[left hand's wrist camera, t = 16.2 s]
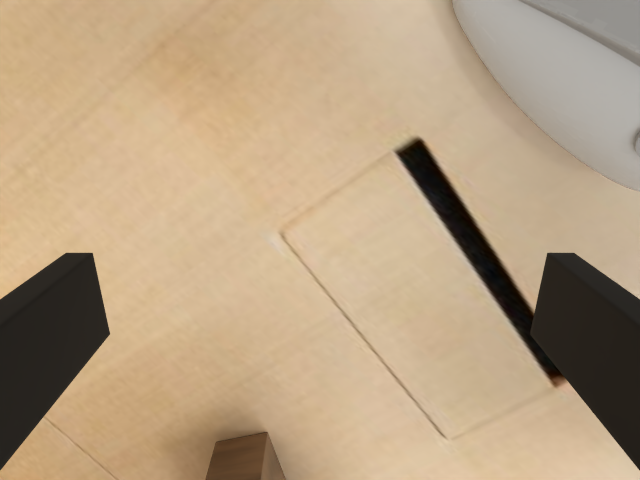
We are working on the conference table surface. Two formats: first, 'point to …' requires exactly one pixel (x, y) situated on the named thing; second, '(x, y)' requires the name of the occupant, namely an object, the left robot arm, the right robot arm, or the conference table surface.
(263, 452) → the box
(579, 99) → the projector
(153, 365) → the conference table surface
